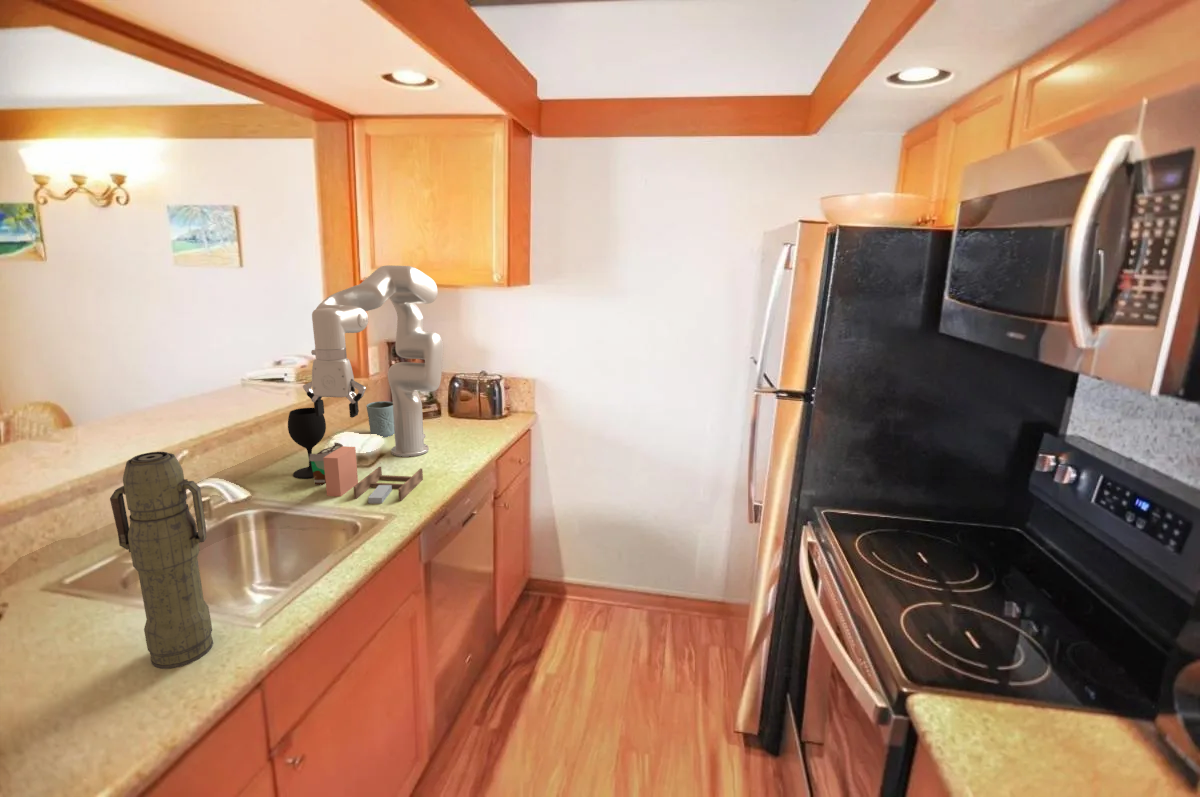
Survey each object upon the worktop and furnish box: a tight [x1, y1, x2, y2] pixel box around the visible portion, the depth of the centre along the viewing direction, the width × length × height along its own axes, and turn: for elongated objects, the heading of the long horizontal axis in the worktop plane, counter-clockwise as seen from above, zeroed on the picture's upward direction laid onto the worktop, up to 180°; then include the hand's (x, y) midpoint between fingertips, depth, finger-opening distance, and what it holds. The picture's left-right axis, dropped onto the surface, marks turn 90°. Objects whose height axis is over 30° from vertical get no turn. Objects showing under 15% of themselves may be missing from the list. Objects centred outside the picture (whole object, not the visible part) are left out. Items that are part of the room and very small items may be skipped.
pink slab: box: [323, 445, 359, 497], centre depth 163 cm, size 4×10×12 cm, turn 176°
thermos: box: [109, 451, 214, 670], centre depth 94 cm, size 9×12×35 cm
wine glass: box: [287, 407, 327, 480], centre depth 178 cm, size 10×10×20 cm
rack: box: [353, 466, 424, 502], centre depth 165 cm, size 16×13×5 cm
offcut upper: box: [367, 485, 393, 504], centre depth 159 cm, size 4×9×2 cm, turn 3°
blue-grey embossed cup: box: [366, 400, 395, 438], centre depth 219 cm, size 10×10×12 cm
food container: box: [308, 442, 344, 486], centre depth 173 cm, size 12×6×10 cm, turn 168°
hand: (337, 415), depth 159 cm, fingers open, 9 cm apart
